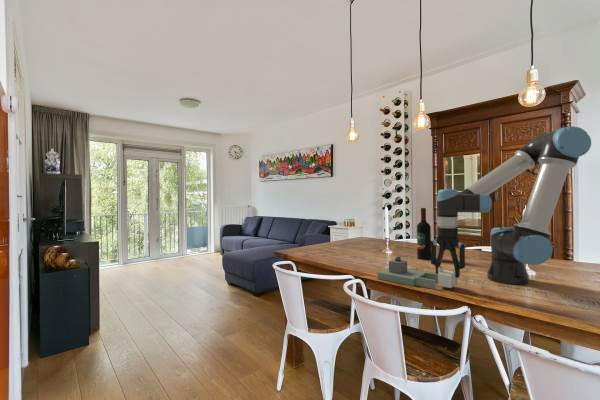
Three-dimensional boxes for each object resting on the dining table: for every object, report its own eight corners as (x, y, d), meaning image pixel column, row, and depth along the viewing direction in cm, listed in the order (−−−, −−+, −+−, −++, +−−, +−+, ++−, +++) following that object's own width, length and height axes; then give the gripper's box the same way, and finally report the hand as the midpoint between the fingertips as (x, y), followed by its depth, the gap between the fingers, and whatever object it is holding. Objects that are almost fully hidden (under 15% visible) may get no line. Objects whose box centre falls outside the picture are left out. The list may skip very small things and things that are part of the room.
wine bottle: (432, 260, 173) (431, 208, 173) (418, 259, 175) (417, 208, 174) (429, 257, 181) (428, 207, 180) (416, 257, 182) (415, 207, 182)
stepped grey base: (445, 282, 130) (445, 259, 130) (433, 290, 120) (432, 265, 120) (392, 272, 148) (392, 252, 148) (377, 278, 138) (377, 257, 138)
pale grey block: (456, 284, 123) (456, 272, 123) (451, 288, 118) (451, 275, 118) (444, 281, 127) (444, 270, 127) (437, 285, 122) (437, 273, 122)
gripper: (474, 227, 118) (474, 286, 119) (428, 224, 131) (428, 277, 132) (468, 229, 113) (468, 290, 114) (421, 226, 126) (421, 281, 126)
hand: (447, 283), depth 123 cm, fingers closed on pale grey block, 5 cm apart
